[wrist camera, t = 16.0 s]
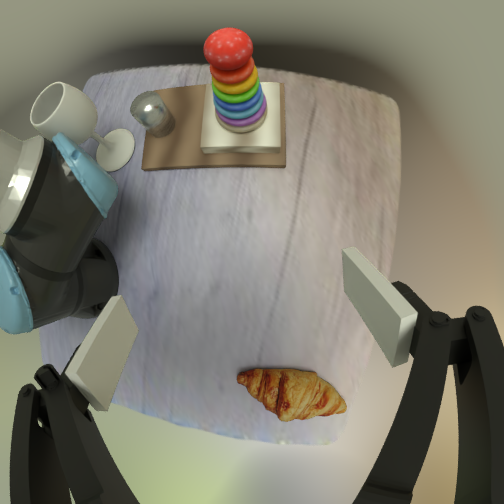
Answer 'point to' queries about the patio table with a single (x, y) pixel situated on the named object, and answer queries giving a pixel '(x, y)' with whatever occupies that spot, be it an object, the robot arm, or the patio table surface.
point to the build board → (191, 137)
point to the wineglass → (79, 124)
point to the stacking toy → (235, 81)
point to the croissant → (292, 393)
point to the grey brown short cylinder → (153, 114)
